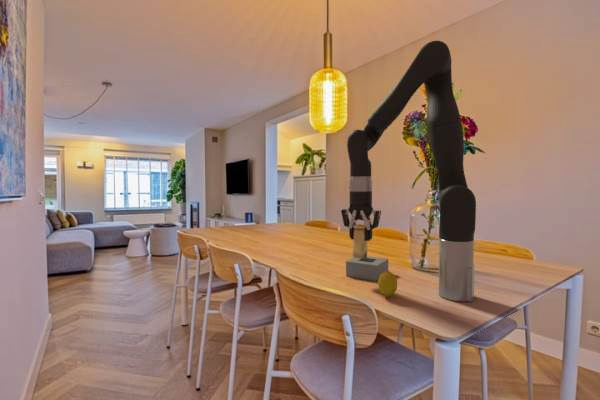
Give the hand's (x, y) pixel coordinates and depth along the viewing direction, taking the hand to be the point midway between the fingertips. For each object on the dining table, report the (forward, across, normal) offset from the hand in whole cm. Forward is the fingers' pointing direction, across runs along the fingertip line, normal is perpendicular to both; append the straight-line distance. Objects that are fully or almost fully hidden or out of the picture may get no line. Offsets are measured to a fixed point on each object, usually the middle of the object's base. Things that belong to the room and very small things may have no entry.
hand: (360, 239), depth 106 cm
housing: (+15, +2, -11) cm, 19 cm away
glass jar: (+6, 0, 0) cm, 6 cm away
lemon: (+15, -12, +8) cm, 21 cm away
